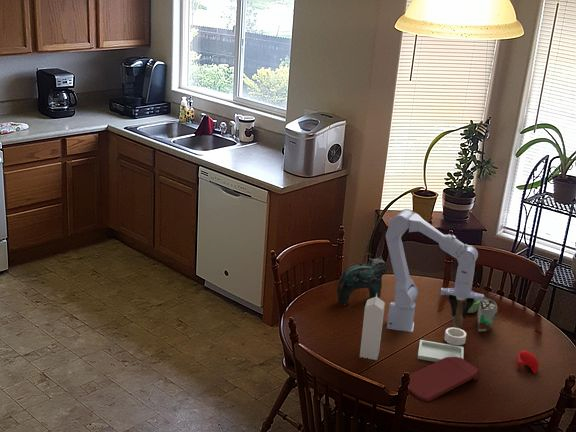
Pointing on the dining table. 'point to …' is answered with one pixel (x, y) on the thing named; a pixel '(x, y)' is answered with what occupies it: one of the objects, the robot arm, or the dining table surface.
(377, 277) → the ceramic cat
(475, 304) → the ramekin
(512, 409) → the dining table surface
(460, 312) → the dowel
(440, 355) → the tray
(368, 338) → the milk
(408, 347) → the dining table surface
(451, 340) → the cup
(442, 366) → the dark red slab
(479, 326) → the food container
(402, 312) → the robot arm
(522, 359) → the red helmet
